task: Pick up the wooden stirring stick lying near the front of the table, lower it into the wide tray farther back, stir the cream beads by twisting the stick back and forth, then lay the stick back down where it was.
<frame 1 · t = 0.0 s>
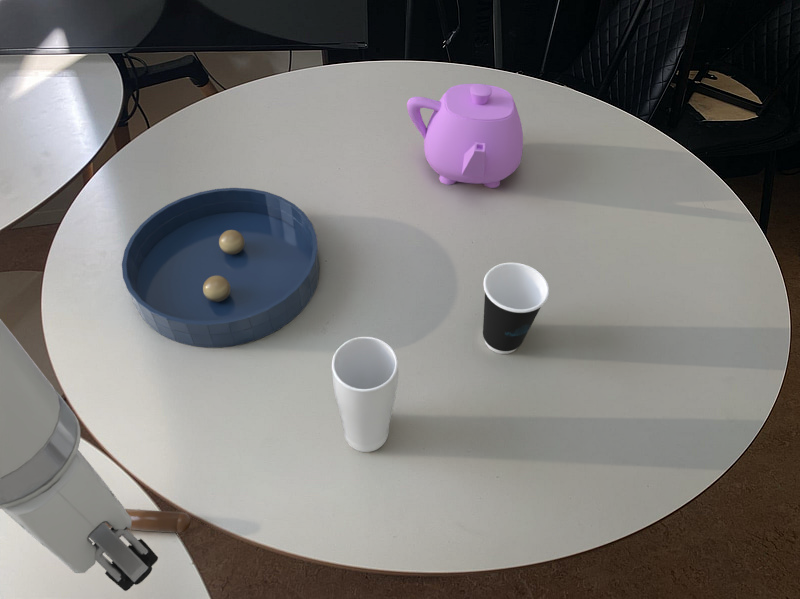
hand: (103, 534, 50), 13 cm above the table, tool pointing down, fingers open, 9 cm apart
stick: (150, 523, 64), on the table
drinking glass: (366, 434, 71), on the table
bead b: (231, 242, 87), point 2 cm above the table, touching tray
bead a: (216, 288, 82), point 2 cm above the table, touching tray
dixie cup: (501, 340, 81), on the table
teapot: (460, 174, 103), on the table
tray: (228, 273, 87), on the table
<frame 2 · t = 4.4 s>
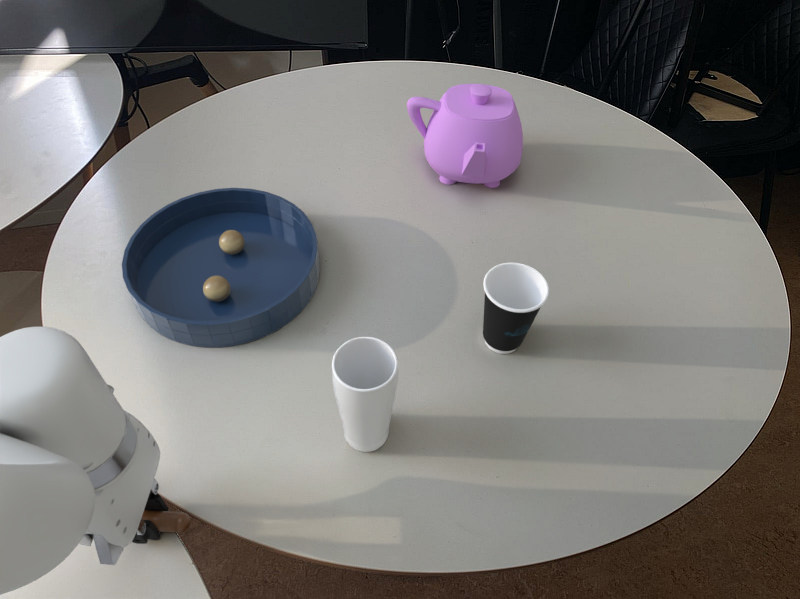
hand: (149, 523, 63), 0 cm above the table, tool pointing down, fingers closed on stick, 2 cm apart
stick: (150, 523, 64), on the table, touching gripper
everything else where it was.
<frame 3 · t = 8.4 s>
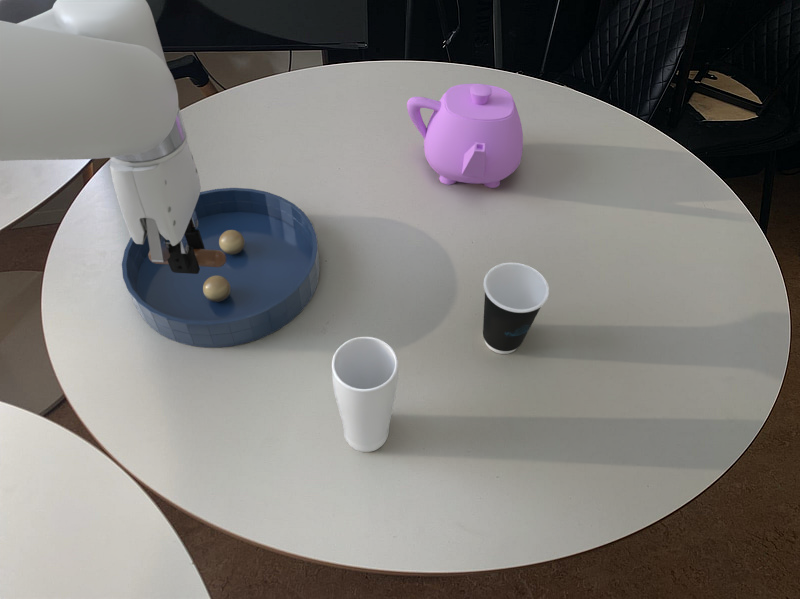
hand: (189, 262, 71), 13 cm above the table, tool pointing down, fingers closed on stick
stick: (189, 262, 71), point 13 cm above the table, touching gripper
everything else where it was.
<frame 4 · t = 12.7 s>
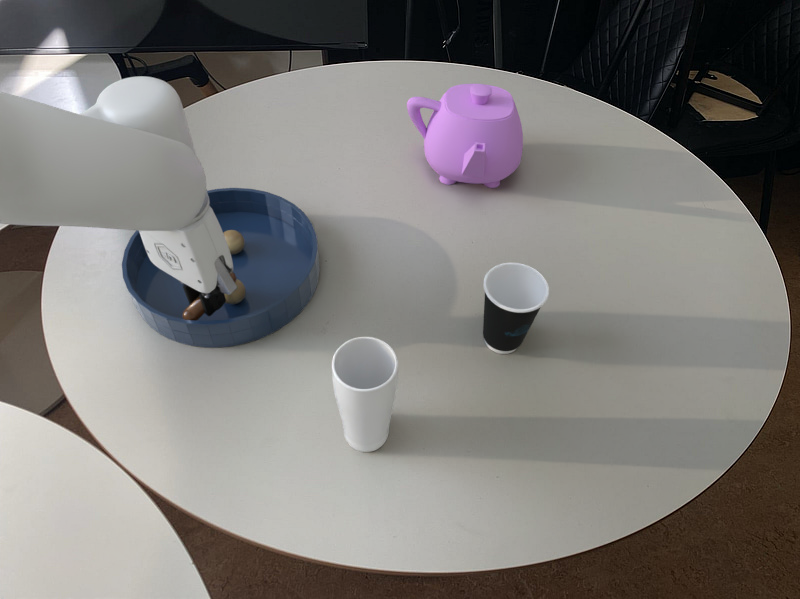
hand: (208, 303, 78), 4 cm above the table, tool pointing down, fingers closed on stick, 2 cm apart
stick: (211, 300, 78), point 4 cm above the table, tilted 10°, touching bead a, tray, gripper
bead a: (232, 291, 81), point 2 cm above the table, tilted 69°, touching tray, stick
everything else where it was.
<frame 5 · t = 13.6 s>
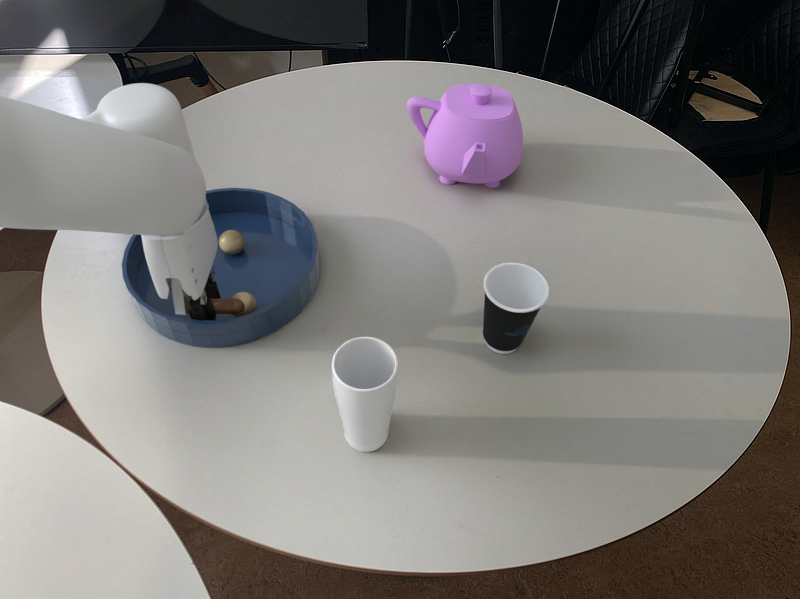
hand: (206, 309, 78), 4 cm above the table, tool pointing down, fingers closed on stick, 2 cm apart
stick: (212, 309, 78), point 3 cm above the table, tilted 9°, touching gripper
bead a: (243, 305, 80), point 2 cm above the table, tilted 132°, touching tray
everything else where it was.
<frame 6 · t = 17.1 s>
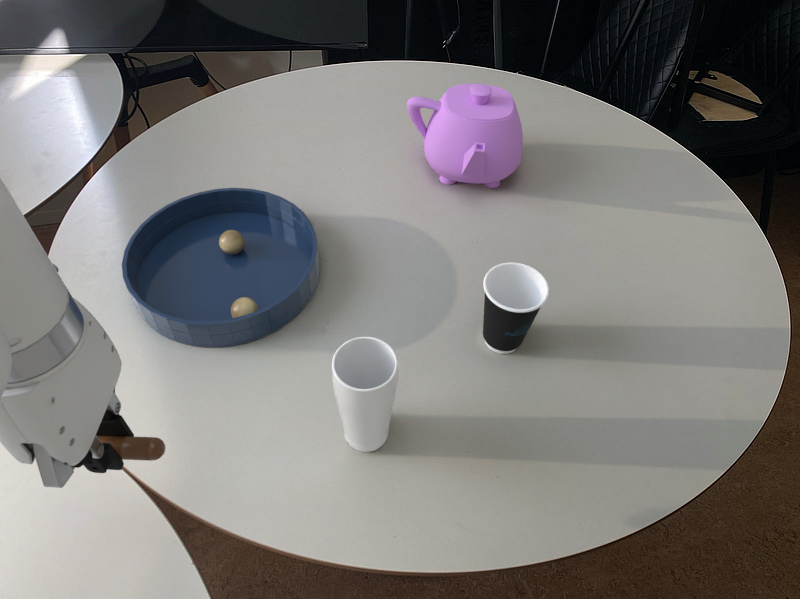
hand: (111, 451, 54), 14 cm above the table, tool pointing down, fingers closed on stick
stick: (119, 451, 54), point 14 cm above the table, tilted 9°, touching gripper
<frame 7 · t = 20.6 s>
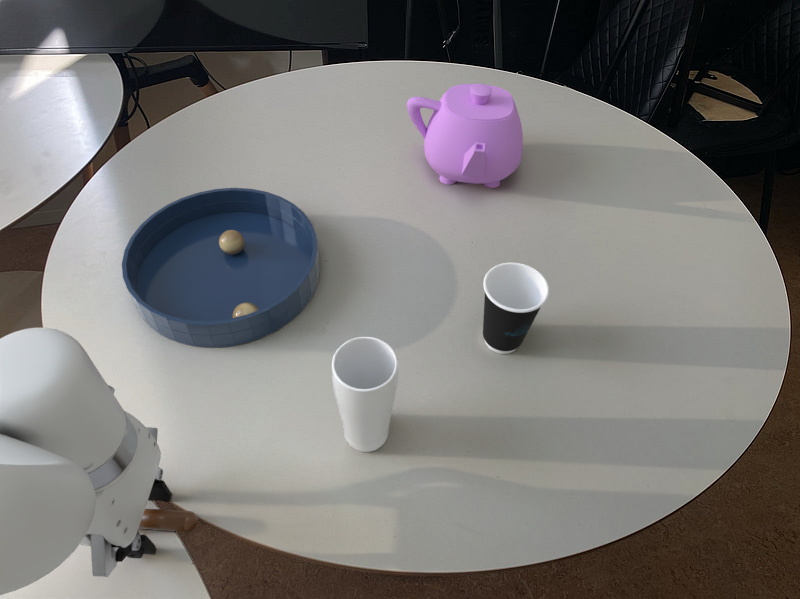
hand: (149, 522, 63), 0 cm above the table, tool pointing down, fingers open, 4 cm apart
stick: (157, 520, 64), on the table, tilted 12°
bead a: (246, 316, 79), point 2 cm above the table, tilted 111°, touching tray
everything else where it was.
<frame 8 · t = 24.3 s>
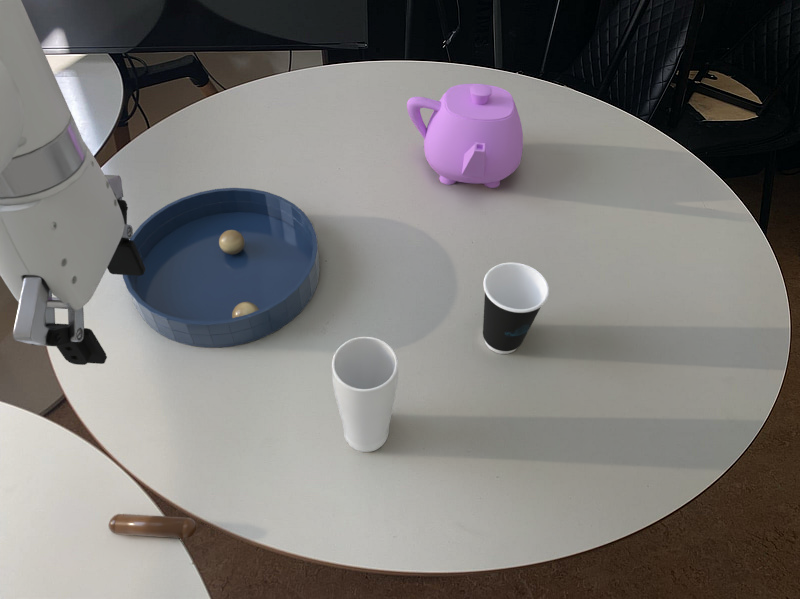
hand: (109, 313, 52), 23 cm above the table, tool pointing down, fingers open, 9 cm apart
stick: (156, 520, 63), on the table, tilted 51°
everything else where it was.
at the end: bead a moved 6.5 cm from its start; bead b inside the target area in the tray (4.0 cm from its centre), point 2.4 cm above the tray's base; stick inside the target area (0.7 cm from its centre), on the table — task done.
